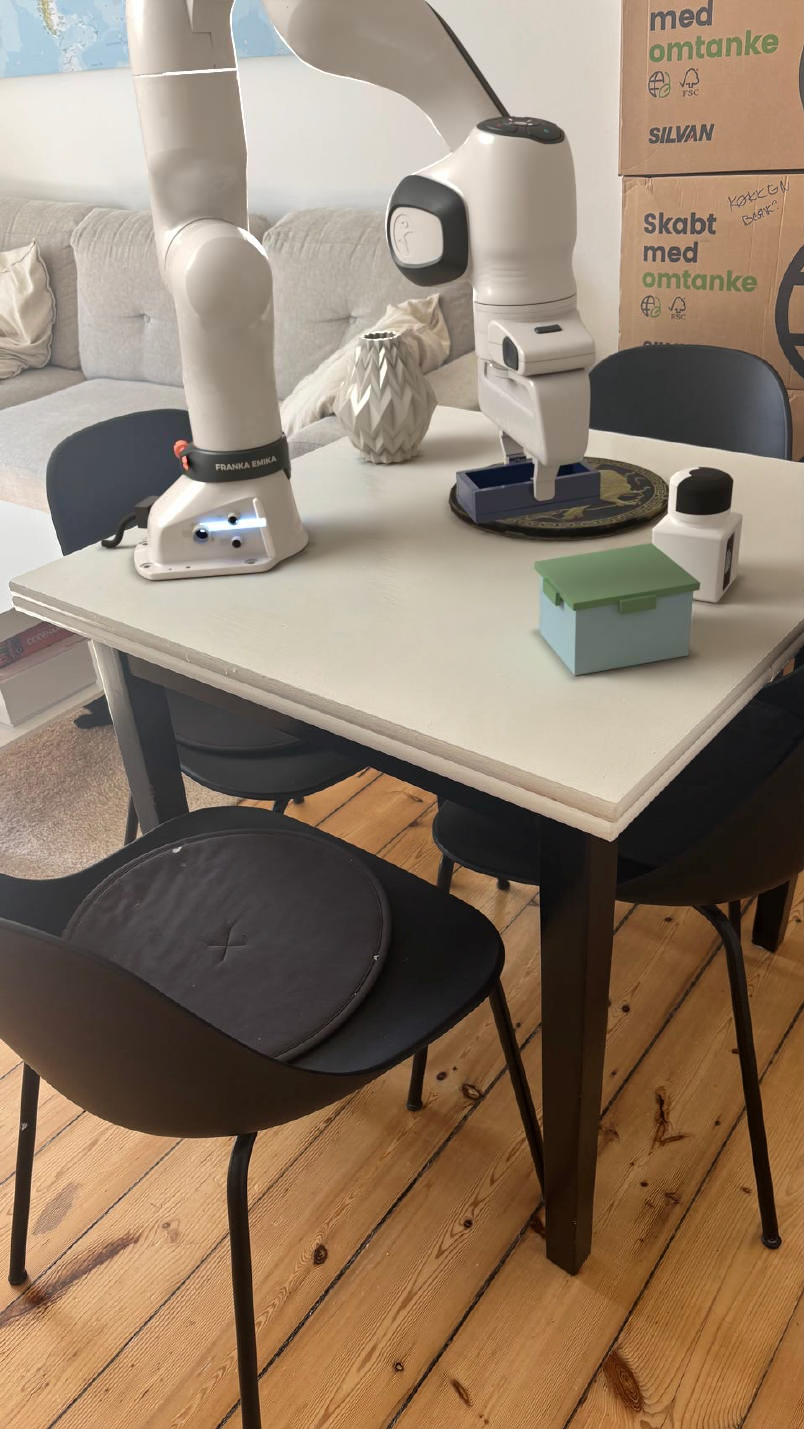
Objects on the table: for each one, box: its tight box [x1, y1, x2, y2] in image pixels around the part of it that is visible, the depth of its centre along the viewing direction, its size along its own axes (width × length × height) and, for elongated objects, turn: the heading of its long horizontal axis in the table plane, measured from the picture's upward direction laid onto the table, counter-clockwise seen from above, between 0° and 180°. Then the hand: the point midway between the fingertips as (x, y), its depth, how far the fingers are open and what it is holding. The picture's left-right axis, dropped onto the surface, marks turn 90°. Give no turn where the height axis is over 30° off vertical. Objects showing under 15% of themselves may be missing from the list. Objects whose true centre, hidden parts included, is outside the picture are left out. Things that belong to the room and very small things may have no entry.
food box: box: [533, 542, 700, 676], centre depth 106 cm, size 14×12×8 cm
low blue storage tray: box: [455, 459, 601, 524], centre depth 99 cm, size 12×6×3 cm, turn 103°
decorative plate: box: [448, 455, 669, 541], centre depth 144 cm, size 30×2×30 cm
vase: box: [331, 330, 439, 465], centre depth 162 cm, size 16×16×18 cm
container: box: [651, 466, 744, 604], centre depth 115 cm, size 8×8×13 cm
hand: (528, 485), depth 98 cm, fingers closed on low blue storage tray, 6 cm apart
